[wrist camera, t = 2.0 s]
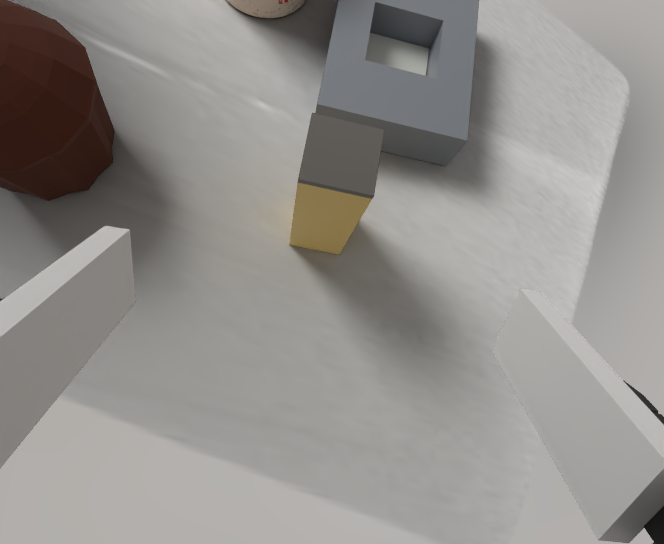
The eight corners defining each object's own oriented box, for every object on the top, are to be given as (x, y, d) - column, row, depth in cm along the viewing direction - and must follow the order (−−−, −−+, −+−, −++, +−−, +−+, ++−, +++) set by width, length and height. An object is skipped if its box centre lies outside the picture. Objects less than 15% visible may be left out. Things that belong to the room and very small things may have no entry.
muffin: (151, 192, 30) (92, 108, 20) (-9, 238, 27) (-164, 168, 18) (106, 65, 32) (34, -67, 22) (-46, 98, 29) (-203, -35, 20)
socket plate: (312, 134, 33) (317, 103, 29) (341, -9, 37) (349, -53, 33) (445, 166, 34) (467, 140, 30) (459, 23, 38) (480, -15, 34)
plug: (289, 244, 30) (298, 179, 20) (298, 198, 31) (312, 112, 21) (339, 254, 31) (373, 195, 20) (346, 209, 32) (383, 129, 21)
